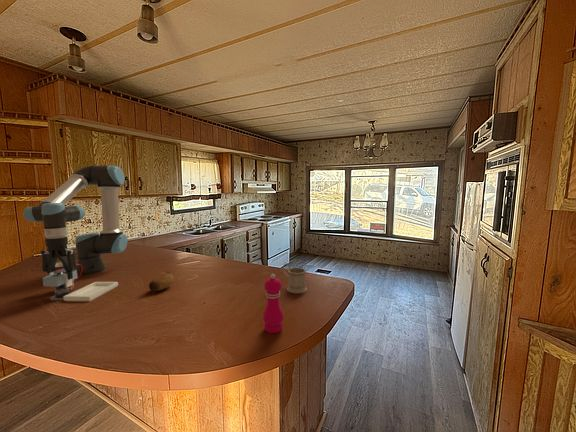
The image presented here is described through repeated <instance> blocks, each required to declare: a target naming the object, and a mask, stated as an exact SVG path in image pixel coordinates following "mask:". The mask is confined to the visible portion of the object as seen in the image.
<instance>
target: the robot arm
mask: <svg viewBox="0 0 576 432" xmlns="http://www.w3.org/2000/svg"><path fill="white" fill-rule="evenodd" d="M125 181H126V180H125V174H124V171H123V170H122V168H120V167H119V166H117V165H107V164H105V165H104V164H103V165H95V164H94V165H86V166H84V167H82V168H79V169H77V170H76V171H73V172H72V173H71V174H69V176H68V178H67V180H66V181H65V182H64V183H63V184H61V185H60V186H59V187H58V188H57V189H55V190H54V191H53V192H52V193H50V195H48V196H47V197H46V198H45V199H43V200H42V201H41V202H40V203H38V204H37V205H33V206H28V207H26V208H24V210H23V217H24V219H25V220H26V221H28V222H33V223H34V222H35V223H43V234H44V238H45V239H44V243H45V244H44V245H45V247H46V249H43V250H41V251H40V253H41V257H42V258H41V259H42V262H41V264H42V265H41V266H42V272H44V273H45V272H46V273H47V276H49V275H51V274H54V272H53V271H55V265H56V263H57V260H59V261H60V263H61V262H62V264H63V267H64V269H65V271H66V273H64V275H65V285H66V287H69V286H71V285H73V284H72V278H73V273H72V272H73V271H75V270H77V275H78V273H79V271H80V267H79V266H76V264H80V265H82V268H83V270H82V273H81V275H88V274H94V273H98V272H101V271H103V270H105V269H106V264H105V262H104V260H103V258H102V254H103V255H104V254H120V253H122V252H124V251H125V250H126V248H127V246H128V242H129V241H128V237H127V235H126V234H125V233H124V231H123V230H122V228H121V226H120V208H119V204H120V203H119V190H121V188H122V187H121V186H122V185H124V183H125ZM93 185H95V186H97V189H99V190H100V199H101V200H100V201H101V203H100V204H101V216H102V217H101V218H102V219H101V221H102V230H101V231H99V232H98V231H97V232H90V233H85V234H79V235H76V237H75V249H69V248H68V244H69V239H68V236H67V235H68V230H67V223H70V222H77V221H80V220H82V219H83V218H84V217H85V215H86V212H85V209H84V208H83V207H82V206H80V205H73V204H72V205H66V204H67V203H68V202H70V200H71V199H73V198H74V197H75V196H76V195H77V194H78V193H80V191H81V190H82V189H86V188H87V187H89V186H93ZM75 251H76V252H75ZM75 253H76V256H75ZM75 257H76V258H75ZM50 288H54V286H50Z"/></svg>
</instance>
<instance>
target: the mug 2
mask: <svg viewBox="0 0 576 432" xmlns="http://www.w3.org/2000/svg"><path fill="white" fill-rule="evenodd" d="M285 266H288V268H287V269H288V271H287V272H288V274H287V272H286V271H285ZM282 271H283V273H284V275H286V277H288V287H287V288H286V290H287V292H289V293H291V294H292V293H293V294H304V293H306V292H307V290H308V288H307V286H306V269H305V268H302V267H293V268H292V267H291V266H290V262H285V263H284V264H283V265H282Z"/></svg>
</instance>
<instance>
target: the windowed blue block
mask: <svg viewBox="0 0 576 432" xmlns="http://www.w3.org/2000/svg"><path fill="white" fill-rule="evenodd" d="M64 273H66V271H64V272H63V274H61V275H59V276H57V274H51V275H49V276H48V275H46V276H43V277H42V284H43V287H51V286H60V285H62V284H65V275H64ZM72 273H73V278H72V280H74V279H77V278H78V277H77V275H78V274H77V270H75V271H73V272H72ZM78 279H79V278H78Z"/></svg>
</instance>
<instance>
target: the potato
mask: <svg viewBox="0 0 576 432" xmlns="http://www.w3.org/2000/svg"><path fill="white" fill-rule="evenodd" d="M173 281H174V274H173V273H172V271H168V270H165V271H164V270H163V271H162V272H160V273H158V275H156V276H155V277H154V278H152V279H151V280H150V282H149V284H148V288H149V290H151V291H155V292H157V291H158V292H159V291H163V290H165V289H168V287H170V286H171V285H172V284H173Z"/></svg>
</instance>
